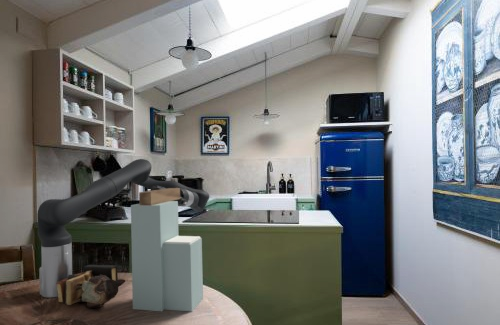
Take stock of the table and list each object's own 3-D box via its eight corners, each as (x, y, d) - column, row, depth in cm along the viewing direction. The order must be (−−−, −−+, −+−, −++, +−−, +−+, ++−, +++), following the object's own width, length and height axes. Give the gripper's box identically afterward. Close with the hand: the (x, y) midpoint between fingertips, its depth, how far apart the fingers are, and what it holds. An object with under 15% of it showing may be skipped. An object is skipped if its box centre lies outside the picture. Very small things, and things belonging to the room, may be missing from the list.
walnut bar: (139, 205, 96) (139, 192, 96) (170, 198, 116) (170, 188, 116) (151, 205, 95) (150, 192, 95) (180, 198, 115) (179, 187, 115)
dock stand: (132, 308, 96) (130, 205, 97) (153, 293, 108) (151, 201, 109) (189, 313, 92) (187, 205, 93) (204, 297, 104) (202, 201, 104)
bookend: (88, 264, 115) (141, 263, 105) (90, 294, 114) (144, 296, 104) (49, 276, 101) (106, 276, 92) (51, 310, 100) (108, 314, 91)
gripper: (190, 212, 132) (169, 210, 117) (165, 198, 137) (142, 194, 122) (198, 196, 132) (177, 192, 117) (173, 183, 138) (150, 177, 123)
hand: (159, 193), depth 120 cm, fingers open, 8 cm apart
